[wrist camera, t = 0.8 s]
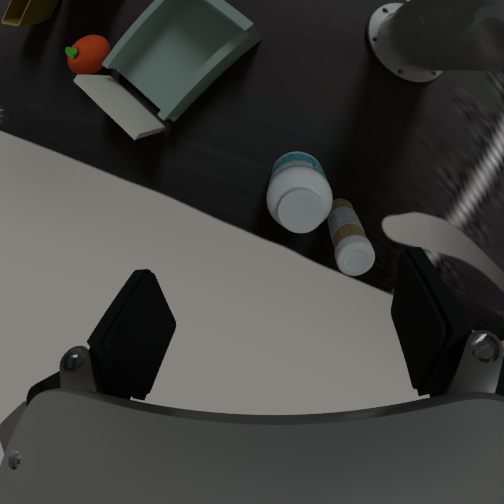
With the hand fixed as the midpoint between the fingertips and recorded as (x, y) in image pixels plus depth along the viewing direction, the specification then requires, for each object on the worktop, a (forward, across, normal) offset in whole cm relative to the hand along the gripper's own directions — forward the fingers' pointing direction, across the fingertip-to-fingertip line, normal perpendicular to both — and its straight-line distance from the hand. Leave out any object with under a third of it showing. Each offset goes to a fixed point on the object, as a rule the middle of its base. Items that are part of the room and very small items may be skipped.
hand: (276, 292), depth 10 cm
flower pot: (+31, +36, -41) cm, 63 cm away
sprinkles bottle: (+31, -7, +11) cm, 34 cm away
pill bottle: (+31, -1, +5) cm, 32 cm away
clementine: (+31, +26, -22) cm, 46 cm away
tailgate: (+30, +20, -11) cm, 37 cm away
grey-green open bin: (+31, +12, -16) cm, 37 cm away
